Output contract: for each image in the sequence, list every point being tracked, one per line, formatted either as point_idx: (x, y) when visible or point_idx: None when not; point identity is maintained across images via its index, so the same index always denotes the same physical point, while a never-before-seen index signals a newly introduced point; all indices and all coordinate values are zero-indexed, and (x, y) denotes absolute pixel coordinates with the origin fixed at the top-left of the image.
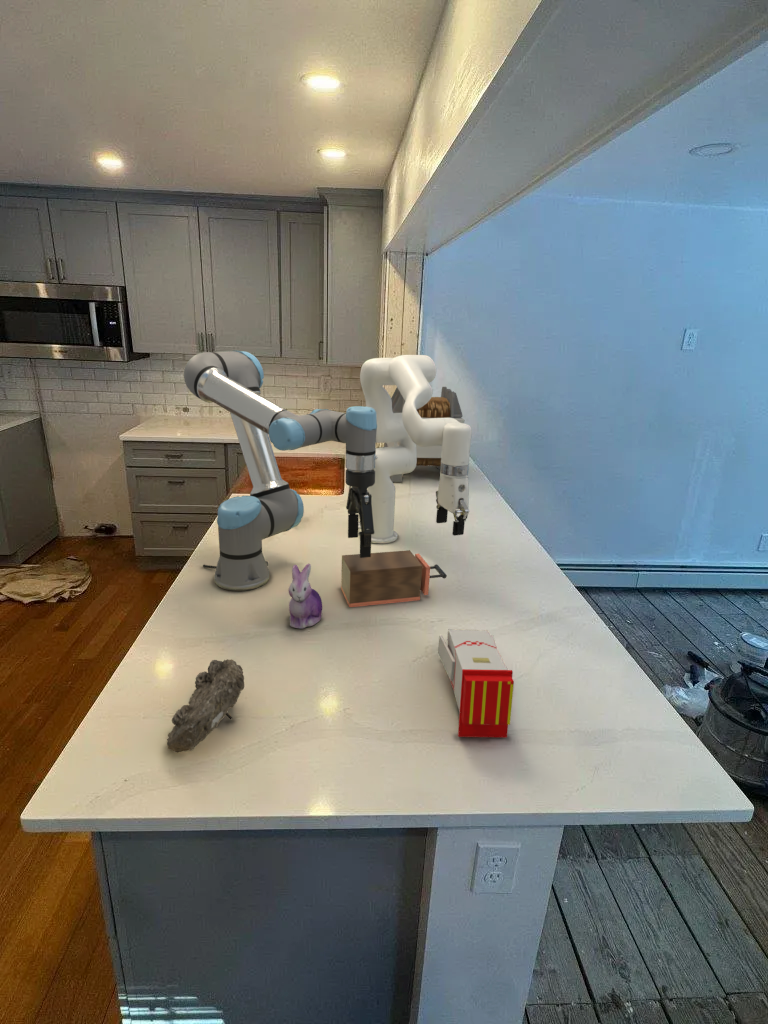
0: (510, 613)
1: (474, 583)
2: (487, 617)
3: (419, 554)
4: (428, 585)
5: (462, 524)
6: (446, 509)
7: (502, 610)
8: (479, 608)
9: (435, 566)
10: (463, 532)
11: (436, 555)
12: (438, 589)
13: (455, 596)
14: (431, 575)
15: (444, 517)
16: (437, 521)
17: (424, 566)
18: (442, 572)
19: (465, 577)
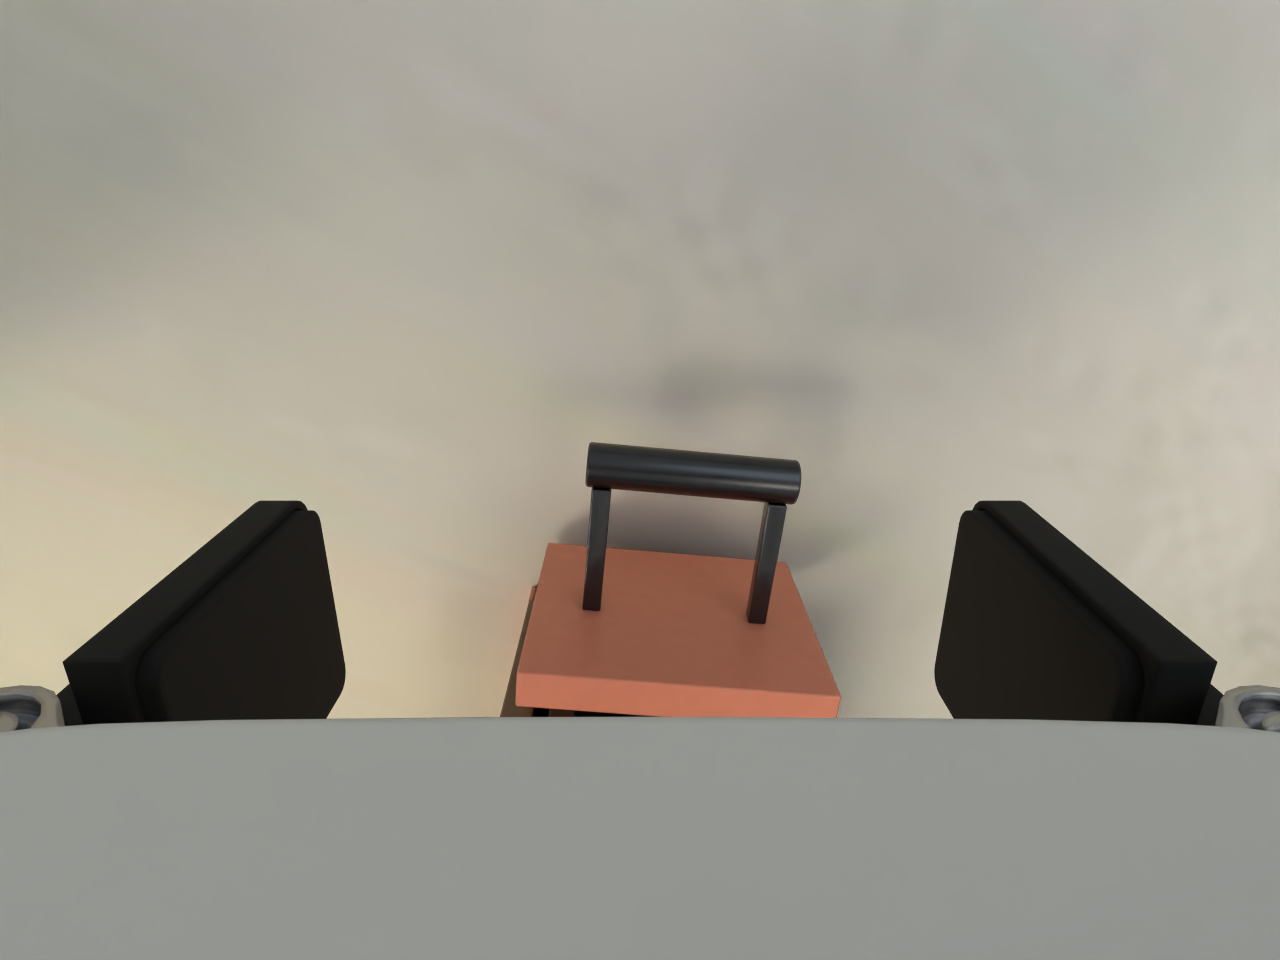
0: (1257, 60)
1: (690, 72)
2: (1196, 284)
3: (542, 677)
4: (801, 603)
5: (1207, 704)
6: (133, 702)
7: (1184, 101)
8: (1065, 272)
9: (611, 487)
10: (1033, 515)
11: (43, 134)
12: (690, 428)
13: (832, 357)
14: (757, 587)
15: (278, 619)
16: (327, 704)
17: None
18: (761, 493)
19: (558, 93)
